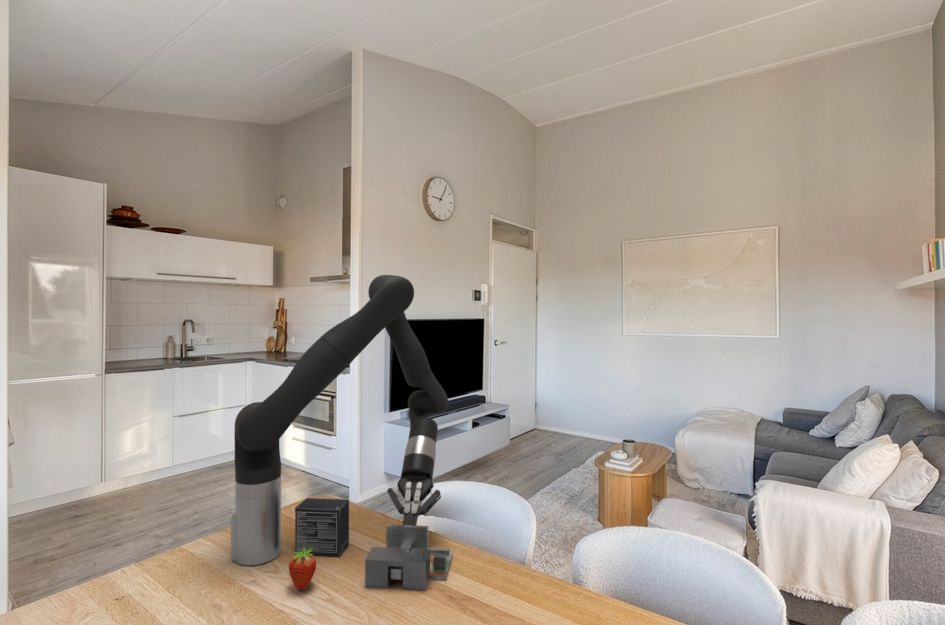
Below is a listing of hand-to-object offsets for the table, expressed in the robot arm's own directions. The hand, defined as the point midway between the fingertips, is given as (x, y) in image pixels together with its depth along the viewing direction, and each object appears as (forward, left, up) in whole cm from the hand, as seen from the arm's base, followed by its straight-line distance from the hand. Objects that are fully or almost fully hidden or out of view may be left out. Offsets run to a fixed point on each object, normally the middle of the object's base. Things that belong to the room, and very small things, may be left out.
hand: (408, 532), depth 105 cm
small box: (-20, +2, -6) cm, 21 cm away
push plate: (+2, -6, -5) cm, 8 cm away
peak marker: (+8, -5, -4) cm, 10 cm away
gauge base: (+2, -5, -5) cm, 8 cm away
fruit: (-18, -13, -6) cm, 23 cm away
